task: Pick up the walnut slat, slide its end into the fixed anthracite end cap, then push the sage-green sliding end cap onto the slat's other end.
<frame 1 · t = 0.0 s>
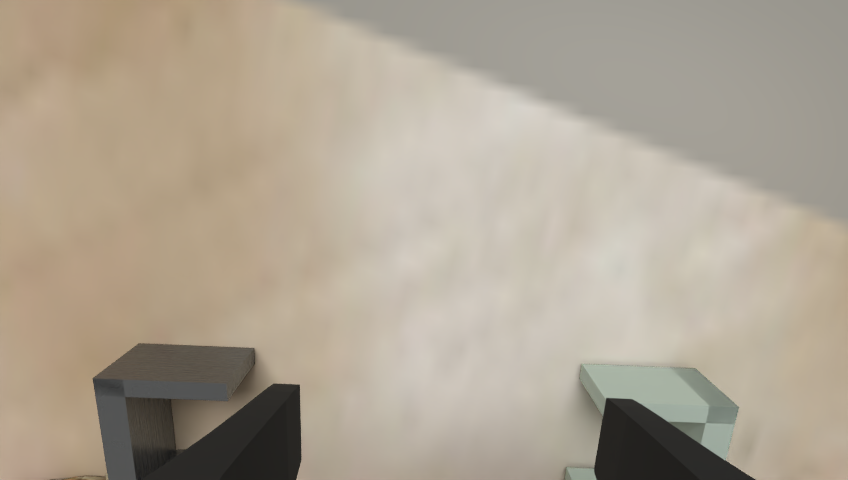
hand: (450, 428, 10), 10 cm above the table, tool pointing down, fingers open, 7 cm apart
fixed cap: (205, 407, 22), on the table
sliding cap: (642, 447, 20), point 2 cm above the table, slide at 0.0 cm
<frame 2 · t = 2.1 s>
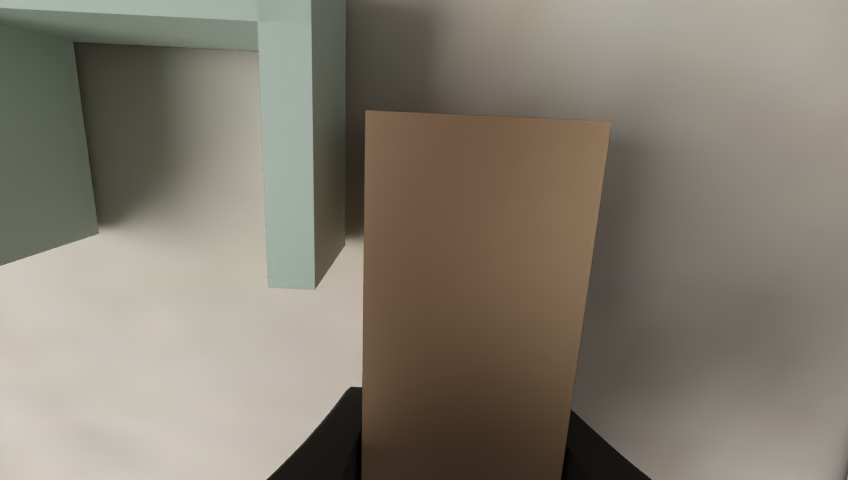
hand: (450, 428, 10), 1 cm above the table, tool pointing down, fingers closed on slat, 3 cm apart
slat: (447, 390, 12), on the table, touching gripper
sliding cap: (157, 119, 8), point 2 cm above the table, slide at 0.0 cm
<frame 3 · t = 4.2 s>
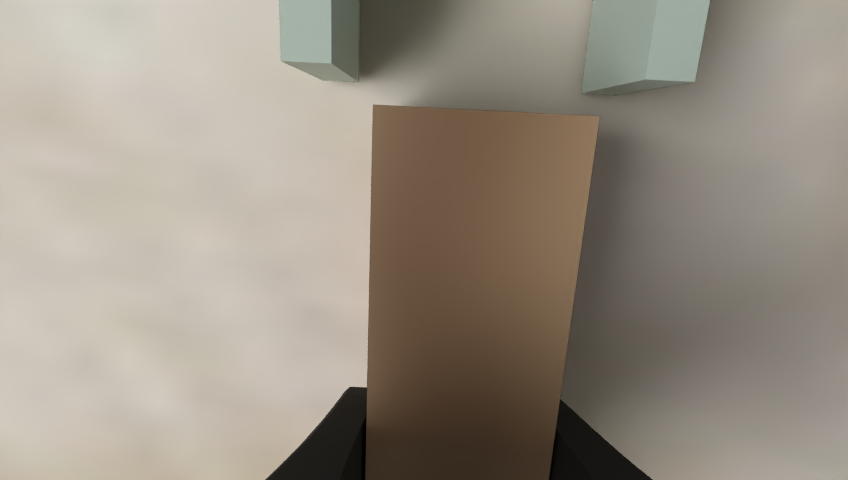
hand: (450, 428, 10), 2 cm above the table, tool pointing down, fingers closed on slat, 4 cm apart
slat: (446, 376, 12), on the table, touching gripper
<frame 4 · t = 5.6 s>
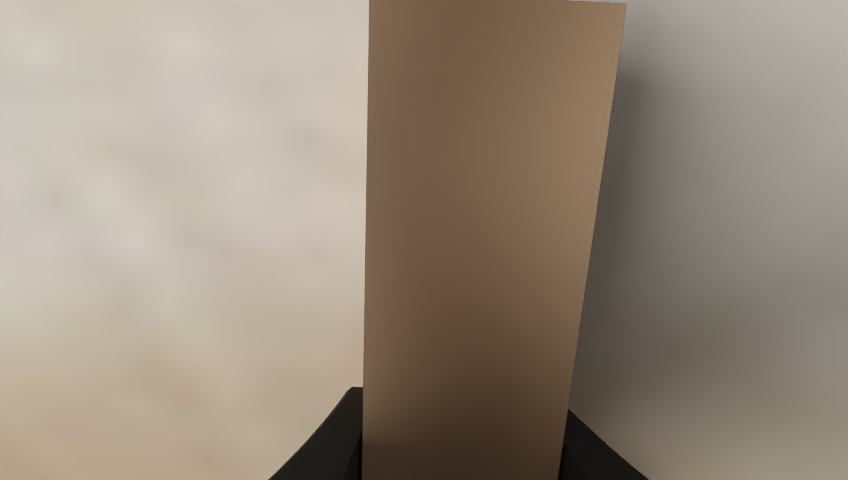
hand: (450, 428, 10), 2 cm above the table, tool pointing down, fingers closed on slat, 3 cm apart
slat: (449, 335, 12), on the table, touching gripper
when the fingers open (2 cm above the table, at t = 5.7 s): slat stays where it is, on the table.
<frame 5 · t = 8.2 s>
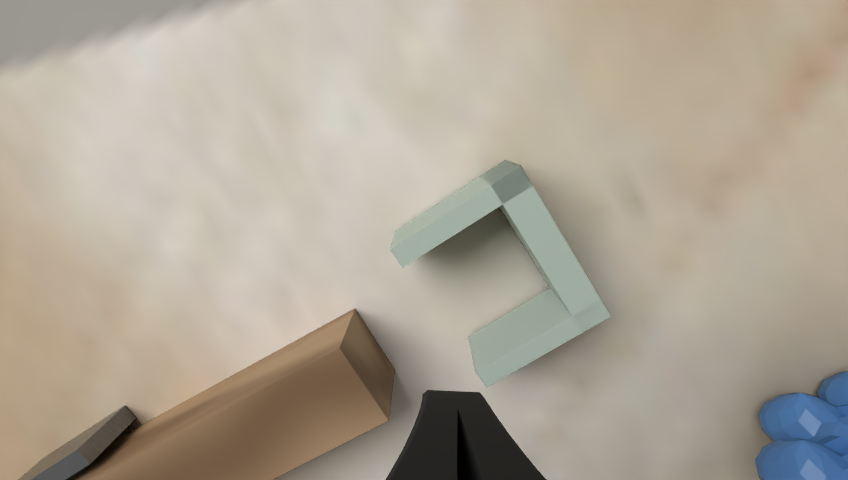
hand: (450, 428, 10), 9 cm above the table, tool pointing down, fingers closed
slat: (251, 403, 21), on the table
fixed cap: (132, 478, 22), on the table
sliding cap: (496, 270, 18), point 2 cm above the table, slide at 0.0 cm
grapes: (823, 364, 21), on the table
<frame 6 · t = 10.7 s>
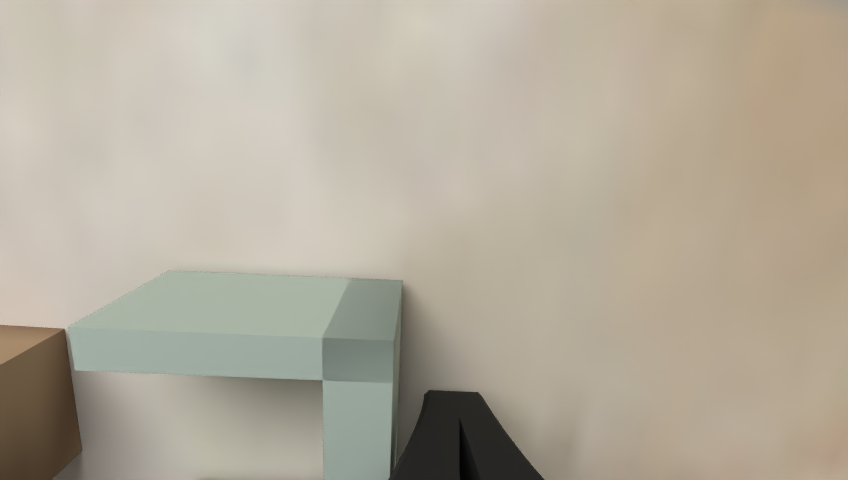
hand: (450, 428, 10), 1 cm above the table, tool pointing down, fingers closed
sliding cap: (269, 442, 10), point 2 cm above the table, slide at 0.8 cm, touching gripper
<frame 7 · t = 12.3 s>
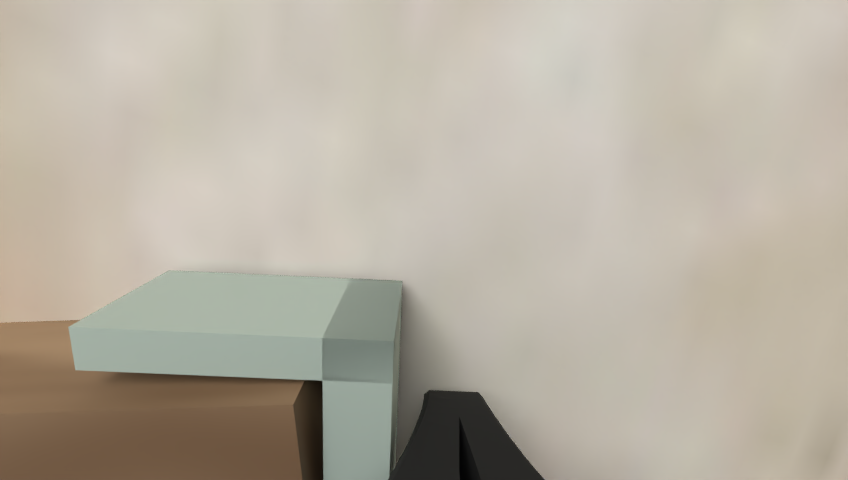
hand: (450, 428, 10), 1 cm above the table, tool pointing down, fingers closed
slat: (75, 379, 12), on the table
sliding cap: (269, 442, 10), point 2 cm above the table, slide at 7.7 cm, touching gripper
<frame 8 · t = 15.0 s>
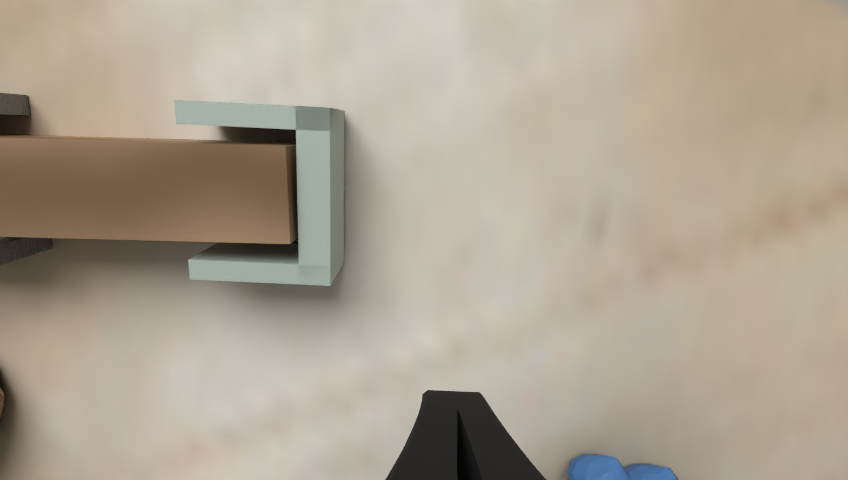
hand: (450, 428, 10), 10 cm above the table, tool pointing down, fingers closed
slat: (156, 178, 20), on the table
sliding cap: (270, 192, 18), point 2 cm above the table, slide at 7.7 cm
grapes: (639, 452, 23), on the table
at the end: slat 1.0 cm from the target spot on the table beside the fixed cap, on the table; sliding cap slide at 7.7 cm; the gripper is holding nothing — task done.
